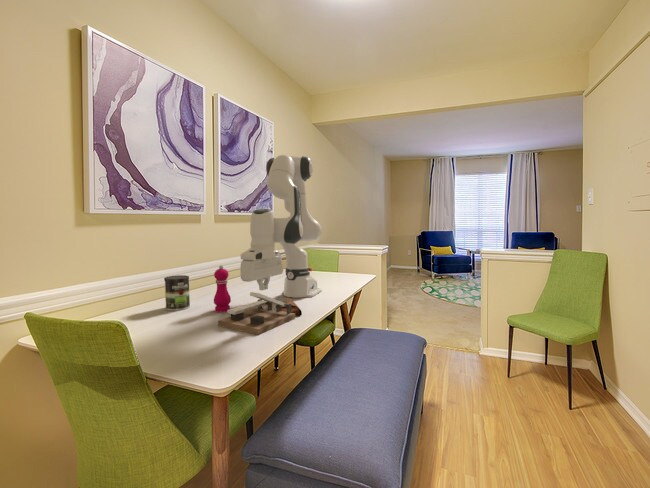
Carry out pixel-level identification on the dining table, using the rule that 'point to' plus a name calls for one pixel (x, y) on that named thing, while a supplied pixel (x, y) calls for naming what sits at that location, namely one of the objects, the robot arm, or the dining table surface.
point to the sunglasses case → (292, 308)
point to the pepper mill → (221, 290)
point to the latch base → (257, 329)
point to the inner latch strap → (247, 307)
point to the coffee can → (177, 292)
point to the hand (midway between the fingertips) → (263, 289)
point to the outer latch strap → (268, 299)
